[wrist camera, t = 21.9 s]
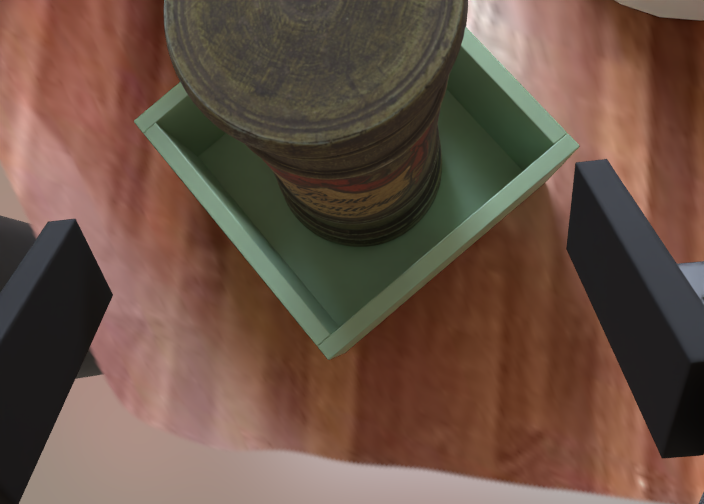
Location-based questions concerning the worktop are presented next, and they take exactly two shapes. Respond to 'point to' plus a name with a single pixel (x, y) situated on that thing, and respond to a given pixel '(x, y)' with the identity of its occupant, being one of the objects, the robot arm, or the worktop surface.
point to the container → (328, 100)
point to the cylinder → (669, 8)
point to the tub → (384, 259)
